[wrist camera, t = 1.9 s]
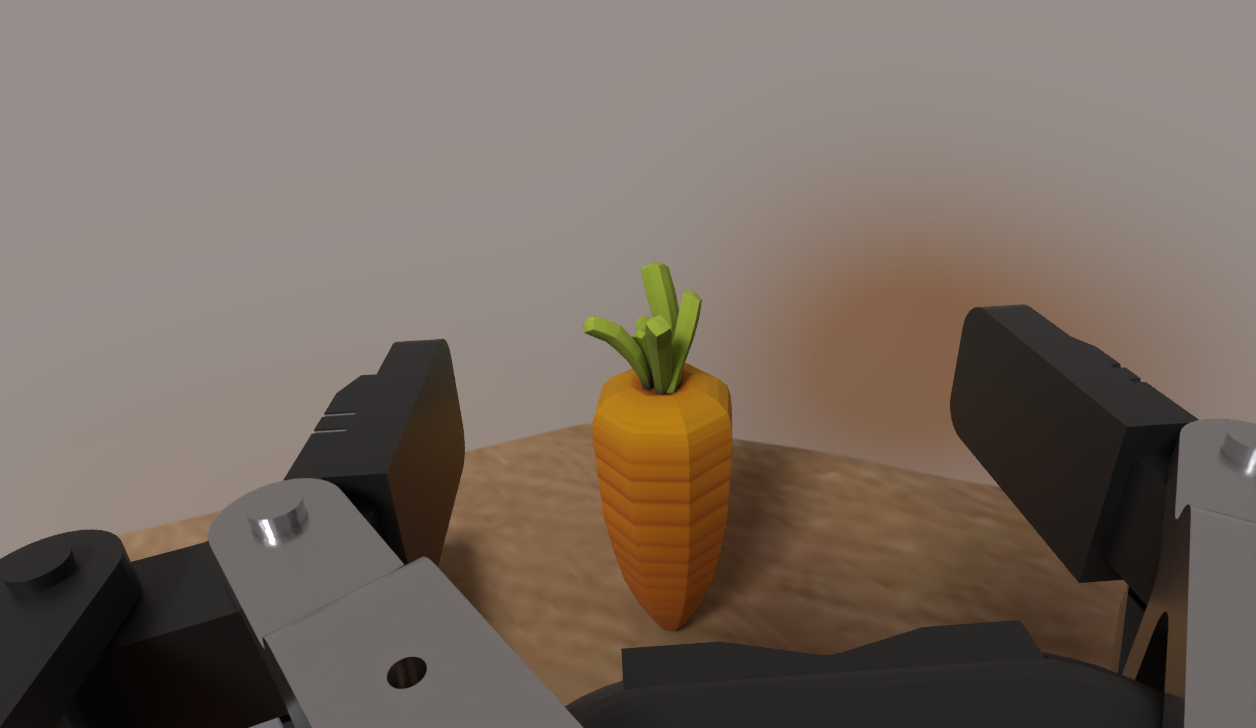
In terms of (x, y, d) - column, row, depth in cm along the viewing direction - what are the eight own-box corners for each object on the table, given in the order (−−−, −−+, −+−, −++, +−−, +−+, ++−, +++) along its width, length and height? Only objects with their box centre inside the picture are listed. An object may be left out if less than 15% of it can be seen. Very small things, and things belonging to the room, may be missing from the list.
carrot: (703, 699, 27) (699, 321, 20) (586, 650, 29) (546, 295, 22) (751, 605, 31) (763, 260, 24) (644, 569, 33) (626, 243, 26)
